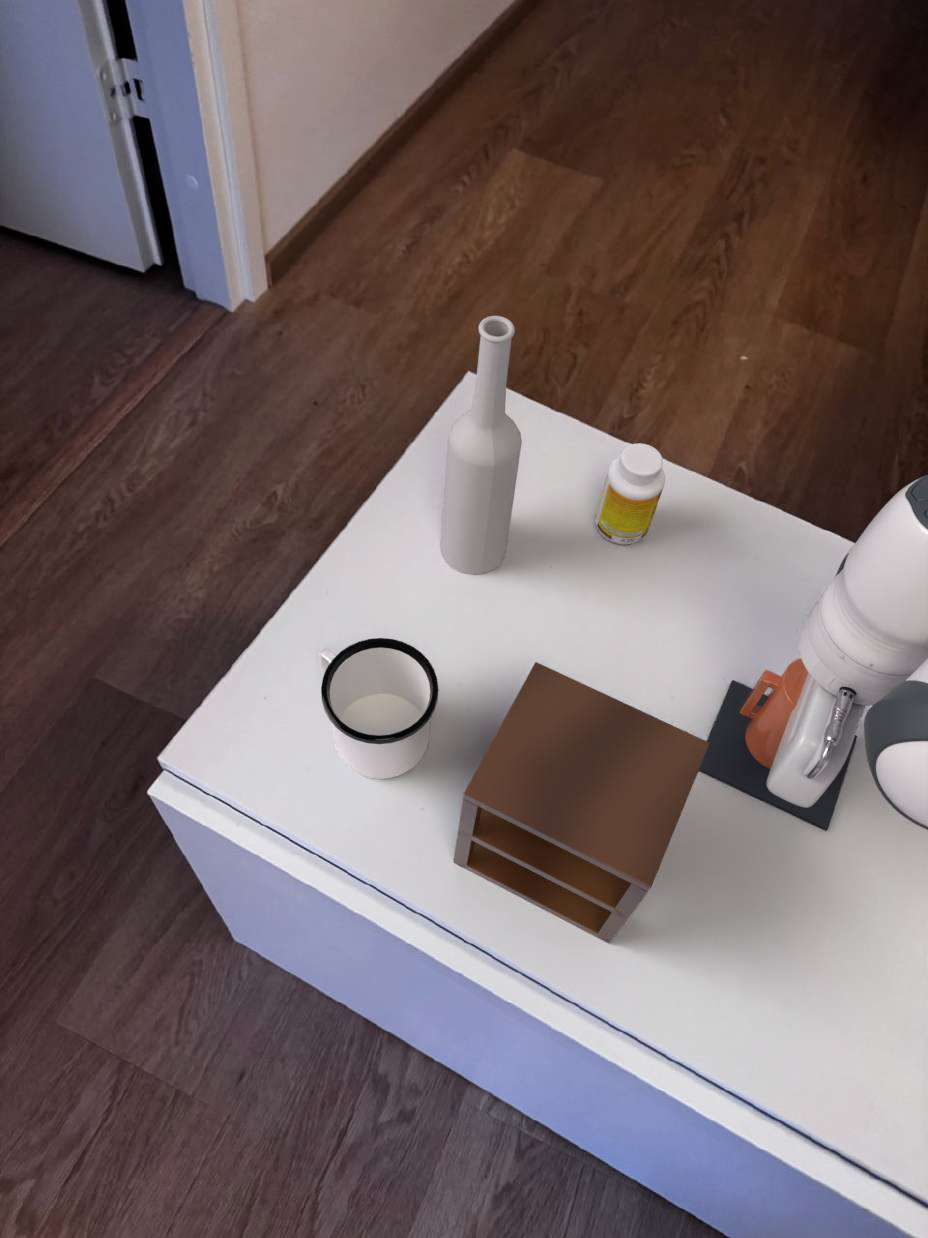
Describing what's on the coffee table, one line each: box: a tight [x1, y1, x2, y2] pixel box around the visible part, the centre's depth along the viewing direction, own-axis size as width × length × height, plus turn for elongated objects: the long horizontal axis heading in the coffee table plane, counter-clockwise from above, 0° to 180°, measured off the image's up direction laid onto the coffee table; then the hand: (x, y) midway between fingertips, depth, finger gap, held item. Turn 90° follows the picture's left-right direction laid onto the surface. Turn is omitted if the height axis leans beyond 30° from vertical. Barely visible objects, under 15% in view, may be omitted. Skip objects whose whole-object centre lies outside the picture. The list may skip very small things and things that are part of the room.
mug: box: [318, 637, 440, 780], centre depth 82 cm, size 12×10×9 cm
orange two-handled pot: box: [740, 657, 866, 769], centre depth 81 cm, size 8×6×10 cm
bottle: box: [439, 315, 523, 575], centre depth 85 cm, size 7×7×28 cm
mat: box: [698, 679, 858, 832], centre depth 87 cm, size 12×10×1 cm
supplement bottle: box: [594, 442, 666, 546], centre depth 95 cm, size 6×6×10 cm
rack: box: [452, 661, 709, 944], centre depth 75 cm, size 14×12×15 cm
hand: (798, 725), depth 82 cm, fingers closed on orange two-handled pot, 6 cm apart
